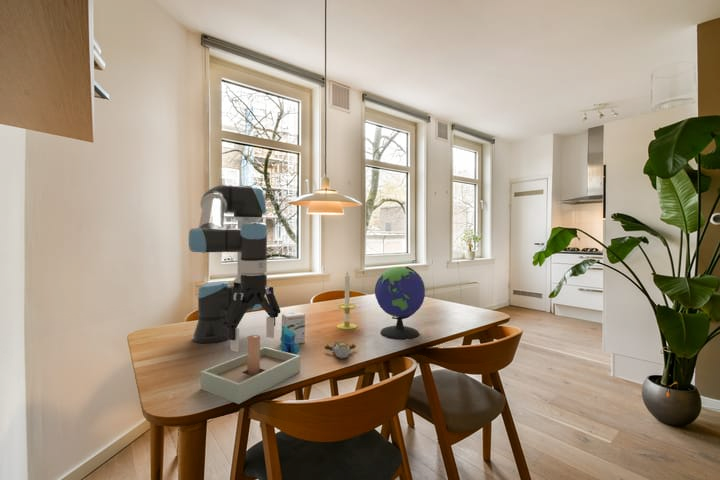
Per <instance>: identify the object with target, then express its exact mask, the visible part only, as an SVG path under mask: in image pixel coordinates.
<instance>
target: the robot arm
mask: <svg viewBox="0 0 720 480" xmlns="http://www.w3.org/2000/svg"><path fill="white" fill-rule="evenodd" d="M264 192H265V191H264V190H263V188H262V187H260V186H255V185H254V186H253V185H238V184H237V185H235V184H233V185H232V184H220V185H216V186H214V187H212V188H210V189H209V190H208V191H206V192H205V193H204V194H203V195H202V196H201V198H200V199H201V200H200V207H201V213H200V219H199V225H198V227H197V228H196V227H195V228H190V230H189V232H188V247H189V251H190V252H192V253H202V254H204V253H237V276H236V277H235V279H233V284H230V283H229V282H228V281H227V280H223V281H221V280H219V281H213V282H209V283H206V284H203V285H200V287H199V288H198V295H197V301H198V303H197V305H198V307H197V308H198V310H197V312H198V313H197V316H198V317H197V324H196V327H195V329H194V333H193V342H195V343H198V344H199V343H200V344H211V343H212V344H213V343H221V342H223V341H228V340H229V341H230V350H231V351H232V352H237V353H238V352H240V328H239V327H238V326H239V324H240V323H241V321H242V319H243V318H244V316H245V314H246V313H247V311H249V312H252V311H256V310H257V311H258V310H261V309H262V308H263V310H264V311H265V312H266V313H267V316H266V331H265V332H266V334H265V335H266V337H267V338H270V339H274V338H275V327H276V318H278V317H279V314H281V309H280V306H279V303H278V301H277V298H276V296H275V293H274V287H273V286H267V285H268V284H267V281H268V277H267V276H268V275H267V274H266V273H267V271H268V270H267V269H268V268H267V266H268V265H267V263H268V261H267V260H268V258H267V252H268V251H267V249H268V248H267V247H268V246H267V245H268V228H267V227H268V226H267V224H266V223H265V222H260V221H261V220H262V219H263V215H265V214H267V213H266V212H267V211H266V210H267V209H266V208H267V205H266V198H265V193H264ZM225 213H230V214H233V219H235V220H236V221H237V228H224V218H225Z"/></svg>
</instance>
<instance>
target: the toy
mask: <svg viewBox="0 0 720 480" xmlns="http://www.w3.org/2000/svg"><path fill="white" fill-rule="evenodd" d="M338 342H339V343H338ZM355 348H357V346H356V344H355V343H354V342H353V343H352V344H351V345H348V343H344V342H343V340H342V339H340V340H339V341H338V340H335V341H334V344H333V346H329V344H326V345H324V349H325V350H328V352H329V353H334V354H335V356H336V357H337V358H338V359H346V358H348V356H354V353H352V352H351V350H353V349H355Z"/></svg>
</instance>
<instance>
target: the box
mask: <svg viewBox="0 0 720 480" xmlns="http://www.w3.org/2000/svg"><path fill="white" fill-rule="evenodd" d="M298 373H301V355H300V354H299V355H296V354H292V353H288V352H284V351H281V349H280V350H278V349H275V348H271V347H268V346H263V347H260V373H259V374H257V375H254V376H251V375H248V374H247V353H245V354H243V355H240V356H237V357H236V358H235V357H234V358H232V359H230V360H227V361H224V362H222V363H218V364H217V365H214V366H212V367H211V366H210V367H209V368H206V369H204V370H200V390H202V391H204V392H206V393H210V394H212V395H214V396H217V397H219V398H222V399H224V400H227V401H230V402H232V403H235V404H238V405H240V404H241V403H243V402H246V401H247V400H250V399H251V398H253V397H255V396H257V395H259V394H260V393H262V392H264V391H266V390H267V389H270V388H272V387H274V386H276V385H278V384H279V383H281V382H283V381H285V380H287V379H288V378H290V377H293V376H295V374H296V375H297V374H298Z"/></svg>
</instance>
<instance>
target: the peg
mask: <svg viewBox="0 0 720 480" xmlns="http://www.w3.org/2000/svg"><path fill="white" fill-rule="evenodd" d="M246 340H247V341H246V343H247V345H246V347H247V349H246V351H247V353H246V354H247V374H248V375H251V376H254V375H257V374H259V373H260V349H261V336H260V335H258V334H252V335H248V336H247V339H246Z"/></svg>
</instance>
